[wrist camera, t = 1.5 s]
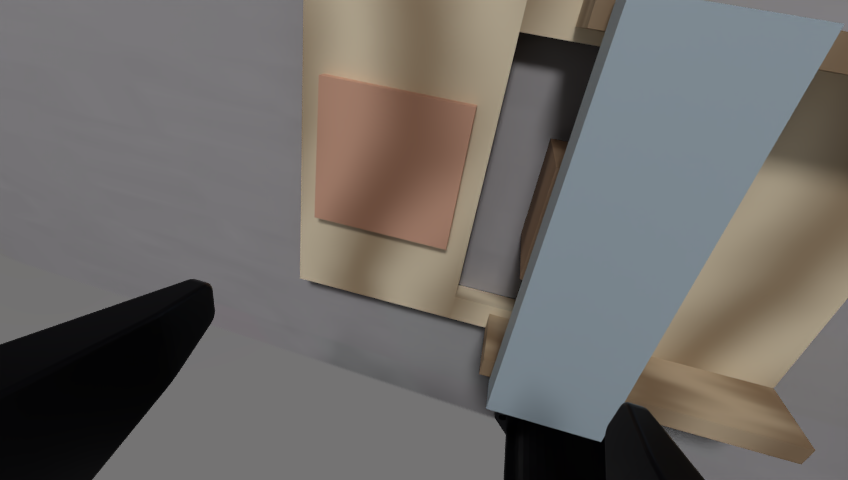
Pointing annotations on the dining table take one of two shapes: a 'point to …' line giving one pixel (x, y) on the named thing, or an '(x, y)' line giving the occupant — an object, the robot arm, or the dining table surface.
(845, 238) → the puzzle board
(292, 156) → the dining table surface
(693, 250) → the sliding slat
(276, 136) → the dining table surface
